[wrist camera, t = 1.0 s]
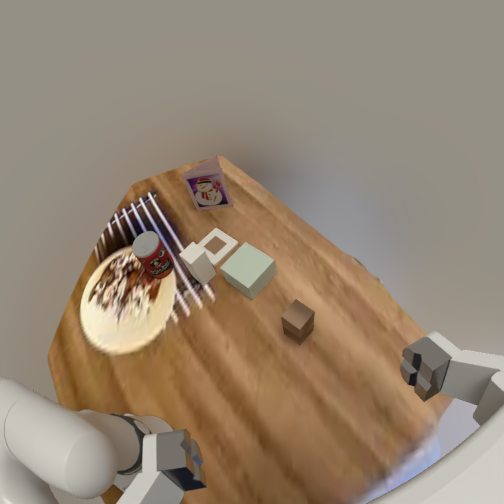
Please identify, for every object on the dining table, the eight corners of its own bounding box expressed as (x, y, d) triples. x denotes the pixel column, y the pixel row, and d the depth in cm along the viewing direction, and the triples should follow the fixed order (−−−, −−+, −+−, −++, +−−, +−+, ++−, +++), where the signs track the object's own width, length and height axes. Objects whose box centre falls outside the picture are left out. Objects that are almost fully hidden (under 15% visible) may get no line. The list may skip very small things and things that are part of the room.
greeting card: (196, 212, 88) (180, 176, 76) (200, 196, 92) (186, 160, 80) (233, 208, 86) (221, 170, 74) (234, 192, 90) (223, 154, 78)
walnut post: (300, 345, 59) (299, 329, 51) (284, 333, 61) (280, 316, 53) (313, 329, 61) (314, 311, 53) (297, 318, 63) (295, 298, 55)
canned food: (154, 284, 75) (135, 261, 66) (146, 263, 79) (128, 240, 70) (178, 270, 76) (162, 246, 67) (169, 250, 81) (153, 226, 72)
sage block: (252, 300, 68) (248, 288, 63) (226, 280, 72) (219, 267, 67) (276, 273, 71) (274, 259, 66) (249, 256, 75) (245, 242, 70)
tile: (215, 266, 75) (214, 264, 74) (193, 250, 79) (192, 247, 78) (238, 244, 78) (238, 241, 77) (216, 229, 82) (215, 226, 81)
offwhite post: (203, 285, 72) (190, 264, 64) (192, 276, 74) (179, 254, 66) (216, 273, 73) (204, 250, 65) (205, 264, 76) (192, 241, 68)
